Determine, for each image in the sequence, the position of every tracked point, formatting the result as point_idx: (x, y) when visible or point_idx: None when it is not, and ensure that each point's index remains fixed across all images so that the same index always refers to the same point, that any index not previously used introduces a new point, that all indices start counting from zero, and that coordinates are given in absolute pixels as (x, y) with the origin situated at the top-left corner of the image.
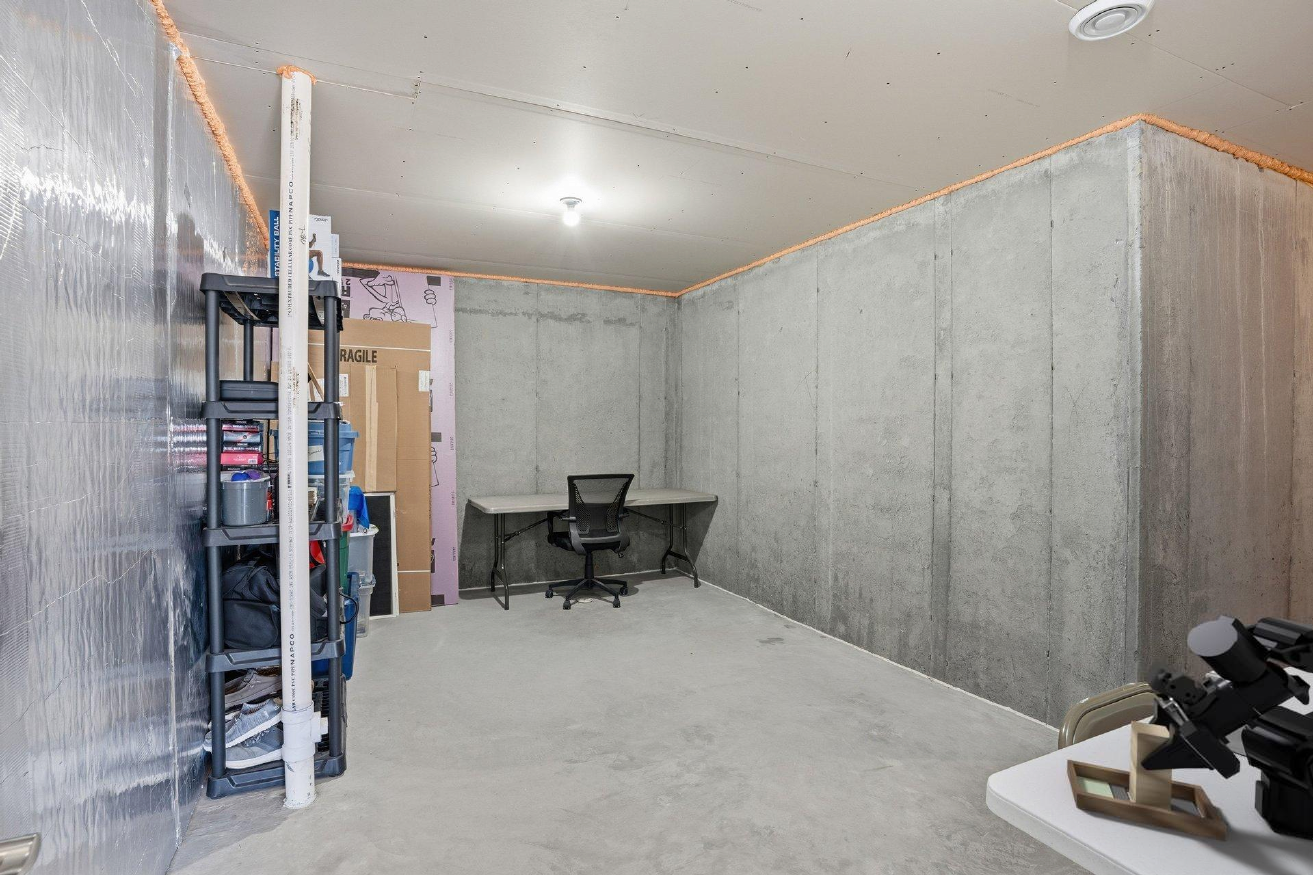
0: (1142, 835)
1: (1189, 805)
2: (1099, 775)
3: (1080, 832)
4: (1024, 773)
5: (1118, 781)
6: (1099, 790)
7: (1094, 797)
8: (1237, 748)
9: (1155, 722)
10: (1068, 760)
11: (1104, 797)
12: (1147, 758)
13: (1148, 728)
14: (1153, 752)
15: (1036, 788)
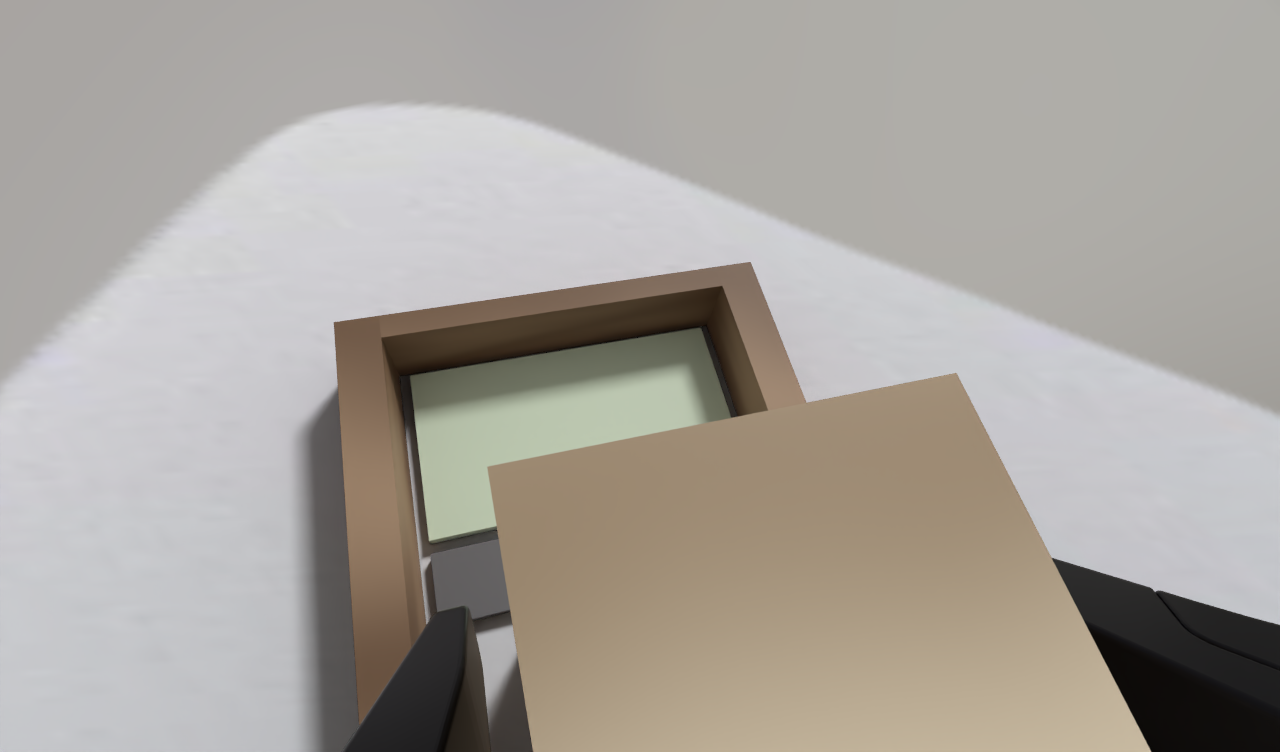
0: (202, 686)
1: None
2: None
3: (75, 396)
4: (574, 165)
5: None
6: (610, 439)
7: (342, 403)
8: None
9: (1277, 729)
10: (741, 268)
11: (368, 450)
12: (408, 670)
13: (842, 629)
14: (394, 747)
15: (453, 211)
